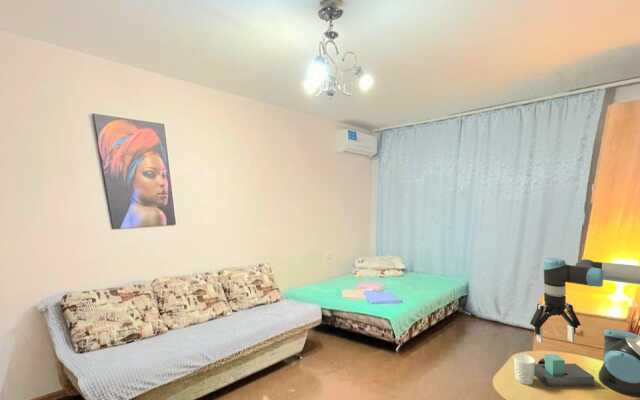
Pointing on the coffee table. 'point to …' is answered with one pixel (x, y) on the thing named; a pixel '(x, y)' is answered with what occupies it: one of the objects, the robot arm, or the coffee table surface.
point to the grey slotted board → (564, 376)
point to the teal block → (554, 364)
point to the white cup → (524, 368)
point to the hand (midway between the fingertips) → (555, 341)
